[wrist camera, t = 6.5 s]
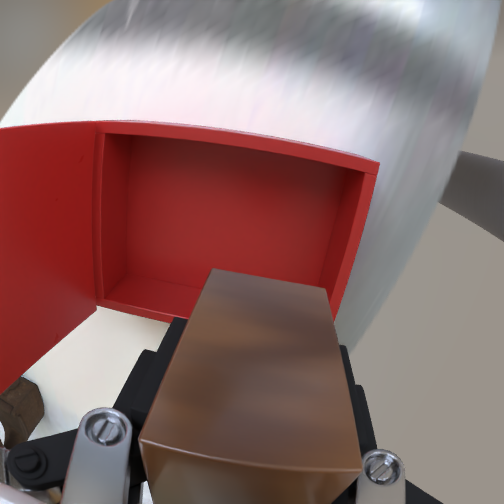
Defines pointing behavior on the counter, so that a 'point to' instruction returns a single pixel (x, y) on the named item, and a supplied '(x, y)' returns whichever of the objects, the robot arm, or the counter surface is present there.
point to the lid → (44, 239)
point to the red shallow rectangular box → (219, 213)
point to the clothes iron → (20, 411)
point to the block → (253, 400)
